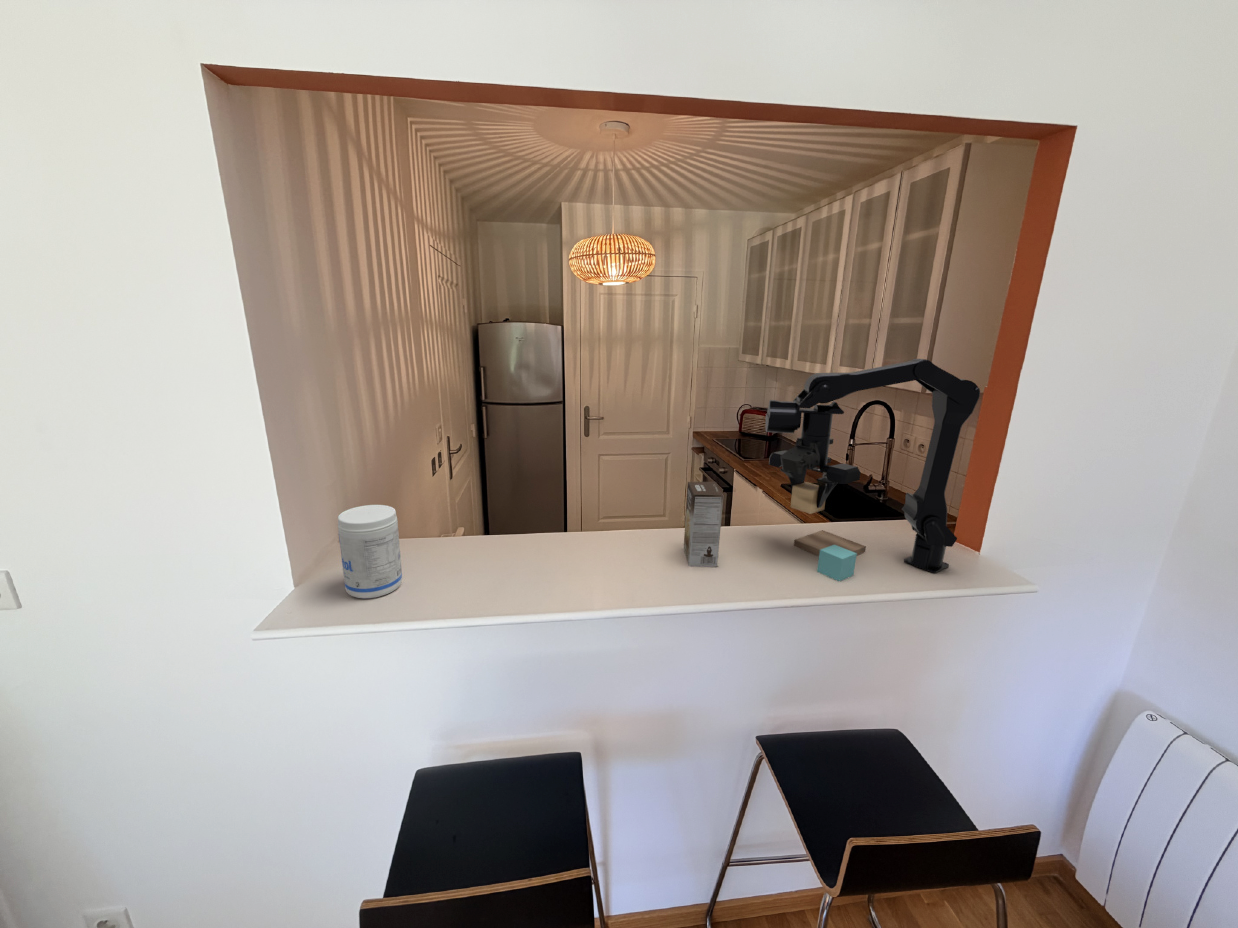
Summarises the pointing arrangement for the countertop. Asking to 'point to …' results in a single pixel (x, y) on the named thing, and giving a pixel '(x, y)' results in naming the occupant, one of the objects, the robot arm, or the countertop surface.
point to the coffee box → (703, 523)
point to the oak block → (805, 498)
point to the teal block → (836, 562)
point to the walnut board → (826, 543)
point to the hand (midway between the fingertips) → (807, 503)
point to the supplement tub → (370, 550)
